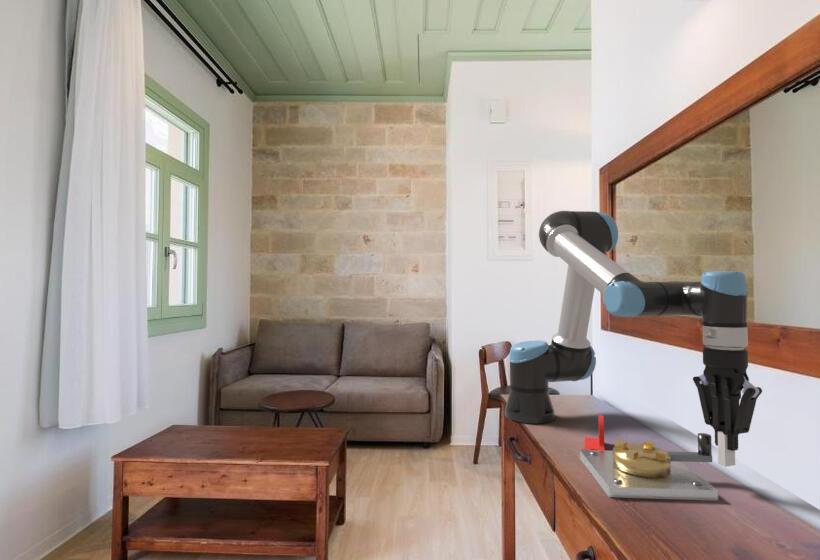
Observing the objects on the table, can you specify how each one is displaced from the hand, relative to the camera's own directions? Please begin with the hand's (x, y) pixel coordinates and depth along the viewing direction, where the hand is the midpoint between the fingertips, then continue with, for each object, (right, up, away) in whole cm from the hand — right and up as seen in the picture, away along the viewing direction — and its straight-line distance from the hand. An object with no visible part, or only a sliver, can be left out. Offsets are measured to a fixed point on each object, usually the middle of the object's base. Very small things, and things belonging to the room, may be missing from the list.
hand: (726, 464), depth 91 cm
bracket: (-18, -6, +22) cm, 29 cm away
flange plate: (-14, -5, +6) cm, 16 cm away
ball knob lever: (-10, -3, +5) cm, 12 cm away
